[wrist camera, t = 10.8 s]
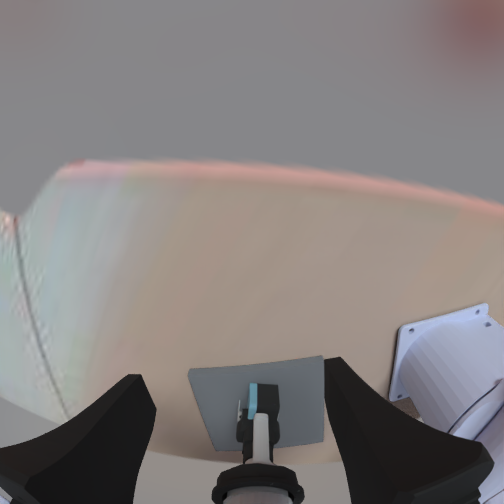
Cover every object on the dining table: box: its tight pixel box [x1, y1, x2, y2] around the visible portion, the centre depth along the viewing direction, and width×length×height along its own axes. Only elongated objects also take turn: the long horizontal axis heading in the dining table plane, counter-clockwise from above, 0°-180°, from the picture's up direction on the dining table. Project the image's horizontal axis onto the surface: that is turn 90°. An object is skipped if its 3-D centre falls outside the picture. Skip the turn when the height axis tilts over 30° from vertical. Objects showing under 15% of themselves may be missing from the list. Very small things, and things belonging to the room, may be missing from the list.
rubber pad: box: [188, 356, 324, 451], centre depth 22 cm, size 10×10×1 cm
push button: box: [212, 383, 305, 504], centre depth 16 cm, size 7×5×10 cm
